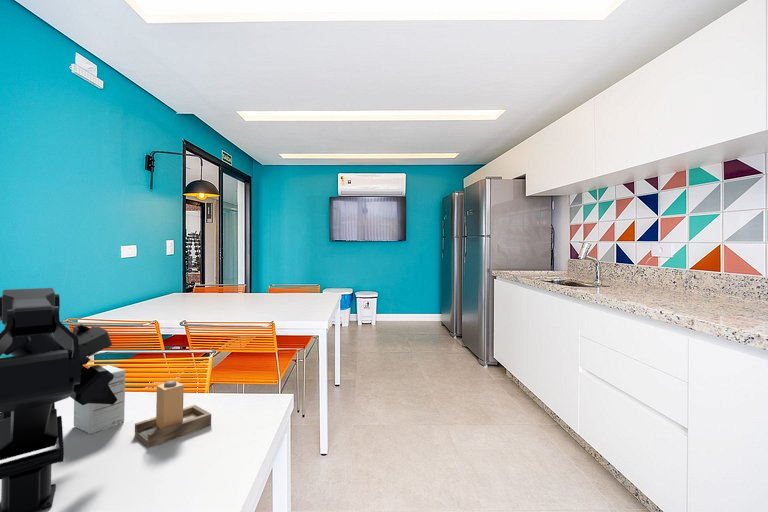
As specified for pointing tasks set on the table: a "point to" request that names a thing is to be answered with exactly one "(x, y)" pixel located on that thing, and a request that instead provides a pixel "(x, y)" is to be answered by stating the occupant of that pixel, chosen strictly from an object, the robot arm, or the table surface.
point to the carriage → (169, 404)
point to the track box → (172, 427)
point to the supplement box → (103, 407)
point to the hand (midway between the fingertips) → (103, 394)
